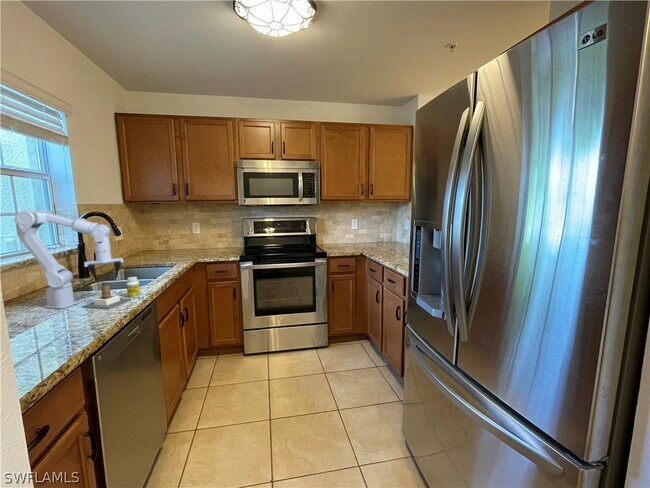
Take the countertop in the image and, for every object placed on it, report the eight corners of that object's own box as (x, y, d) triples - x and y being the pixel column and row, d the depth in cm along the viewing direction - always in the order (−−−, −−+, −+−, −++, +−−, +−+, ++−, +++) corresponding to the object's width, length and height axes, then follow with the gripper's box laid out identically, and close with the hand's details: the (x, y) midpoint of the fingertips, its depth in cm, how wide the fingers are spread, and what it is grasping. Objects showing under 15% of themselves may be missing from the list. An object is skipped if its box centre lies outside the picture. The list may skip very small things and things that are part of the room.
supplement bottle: (140, 294, 151) (138, 275, 150) (140, 297, 147) (138, 278, 145) (127, 296, 148) (125, 277, 147) (127, 299, 144) (125, 279, 142)
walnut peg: (101, 303, 136) (98, 286, 135) (107, 301, 139) (105, 284, 138) (107, 303, 136) (104, 286, 134) (113, 301, 139) (111, 284, 138)
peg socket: (82, 307, 133) (81, 300, 133) (106, 298, 145) (105, 292, 144) (108, 309, 130) (107, 302, 130) (131, 300, 142) (130, 293, 142)
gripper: (82, 253, 131) (86, 284, 133) (122, 250, 140) (125, 278, 142) (83, 251, 136) (86, 280, 138) (121, 248, 145) (124, 275, 147)
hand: (106, 279), depth 140 cm, fingers open, 7 cm apart
